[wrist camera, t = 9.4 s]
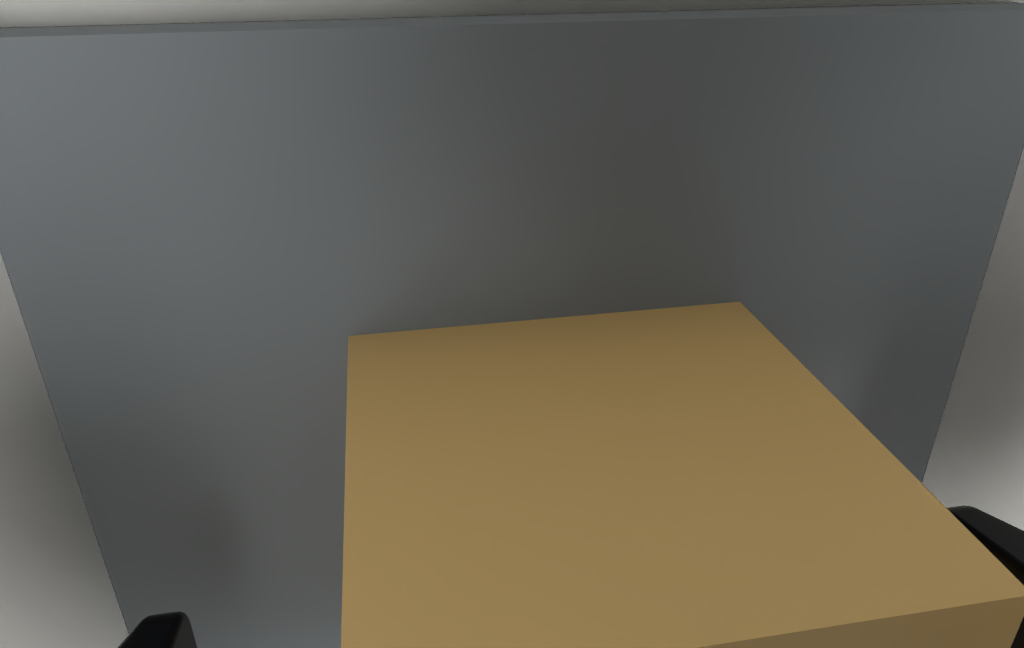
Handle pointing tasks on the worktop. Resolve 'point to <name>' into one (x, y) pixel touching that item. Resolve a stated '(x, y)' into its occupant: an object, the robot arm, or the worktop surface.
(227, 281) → the grey mat
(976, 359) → the worktop surface
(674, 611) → the ochre cube
